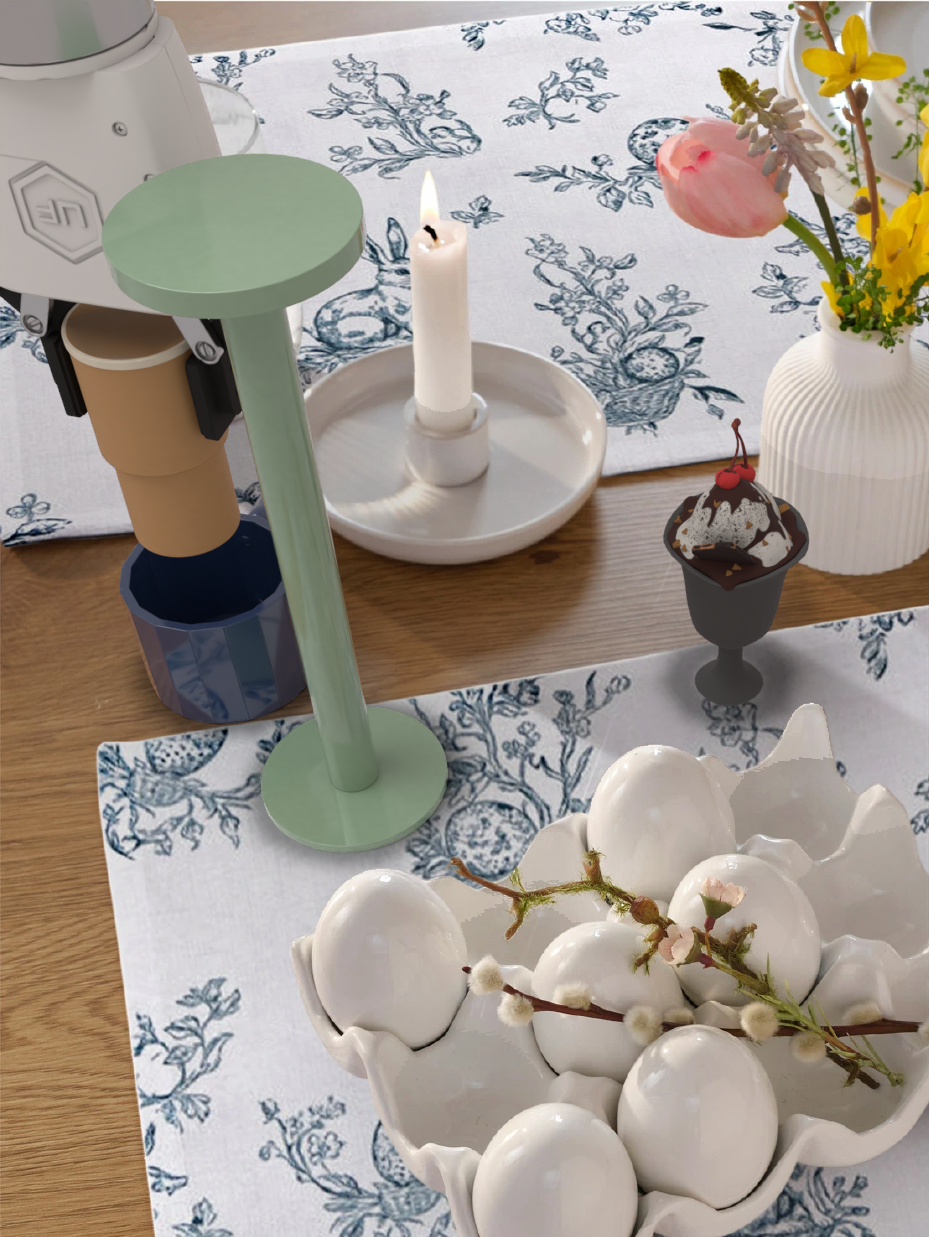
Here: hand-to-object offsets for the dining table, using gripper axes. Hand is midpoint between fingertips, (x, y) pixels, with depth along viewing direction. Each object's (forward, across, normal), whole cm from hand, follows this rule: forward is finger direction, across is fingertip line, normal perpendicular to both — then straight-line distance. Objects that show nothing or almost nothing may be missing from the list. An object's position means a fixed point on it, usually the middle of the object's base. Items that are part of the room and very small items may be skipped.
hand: (156, 406), depth 72 cm
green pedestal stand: (+16, +10, -6) cm, 20 cm away
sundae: (+16, +26, +5) cm, 31 cm away
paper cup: (+7, 0, 0) cm, 7 cm away
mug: (+16, +1, +2) cm, 17 cm away
